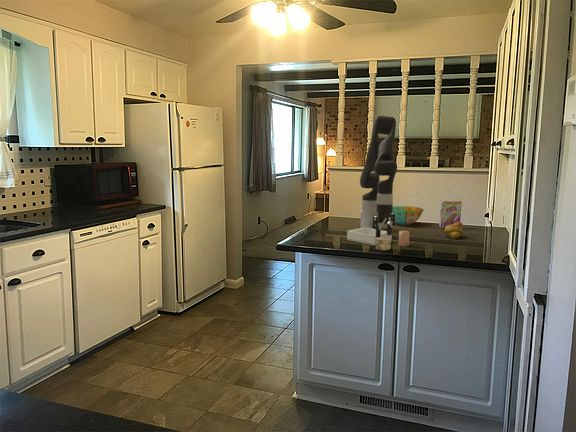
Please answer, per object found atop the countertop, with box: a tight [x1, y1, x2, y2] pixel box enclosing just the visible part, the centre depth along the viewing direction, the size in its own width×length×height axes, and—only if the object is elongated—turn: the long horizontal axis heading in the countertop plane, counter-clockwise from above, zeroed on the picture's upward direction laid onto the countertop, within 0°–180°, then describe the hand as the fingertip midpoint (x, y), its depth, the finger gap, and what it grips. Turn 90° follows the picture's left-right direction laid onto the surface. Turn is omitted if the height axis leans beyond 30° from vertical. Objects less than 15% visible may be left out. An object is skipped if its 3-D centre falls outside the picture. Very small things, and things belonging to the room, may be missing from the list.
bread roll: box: [443, 221, 464, 239], centre depth 248 cm, size 13×10×8 cm
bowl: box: [391, 205, 425, 226], centre depth 287 cm, size 22×22×10 cm
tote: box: [346, 227, 393, 246], centre depth 239 cm, size 18×15×5 cm
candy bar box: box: [439, 199, 462, 229], centre depth 274 cm, size 11×5×16 cm, turn 84°
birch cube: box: [375, 237, 392, 251], centre depth 222 cm, size 5×5×5 cm
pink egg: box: [398, 230, 410, 247], centre depth 229 cm, size 5×5×7 cm
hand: (383, 236), depth 221 cm, fingers open, 8 cm apart
